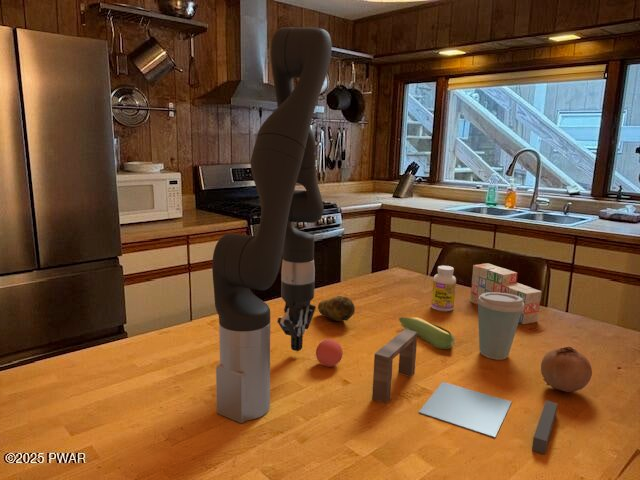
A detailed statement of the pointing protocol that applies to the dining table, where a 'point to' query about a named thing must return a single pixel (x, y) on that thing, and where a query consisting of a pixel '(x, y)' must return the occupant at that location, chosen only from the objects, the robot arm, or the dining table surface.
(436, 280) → the supplement bottle
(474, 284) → the stack of blocks
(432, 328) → the edible corn
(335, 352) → the ball
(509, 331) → the disposable coffee cup
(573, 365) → the onion
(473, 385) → the dining table surface
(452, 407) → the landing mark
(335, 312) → the potato
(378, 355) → the bridge
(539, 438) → the wall
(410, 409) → the dining table surface
